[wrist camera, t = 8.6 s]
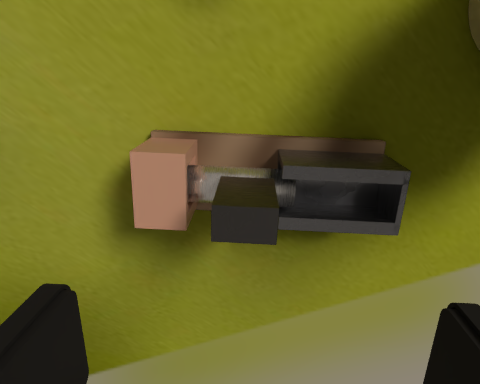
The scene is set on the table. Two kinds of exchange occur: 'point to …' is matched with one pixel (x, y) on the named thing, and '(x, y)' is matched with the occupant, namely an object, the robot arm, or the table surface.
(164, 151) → the socket block
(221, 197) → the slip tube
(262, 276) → the table surface
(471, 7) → the potted cactus
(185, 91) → the table surface
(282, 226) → the dark grey open box
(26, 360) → the robot arm
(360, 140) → the base board
